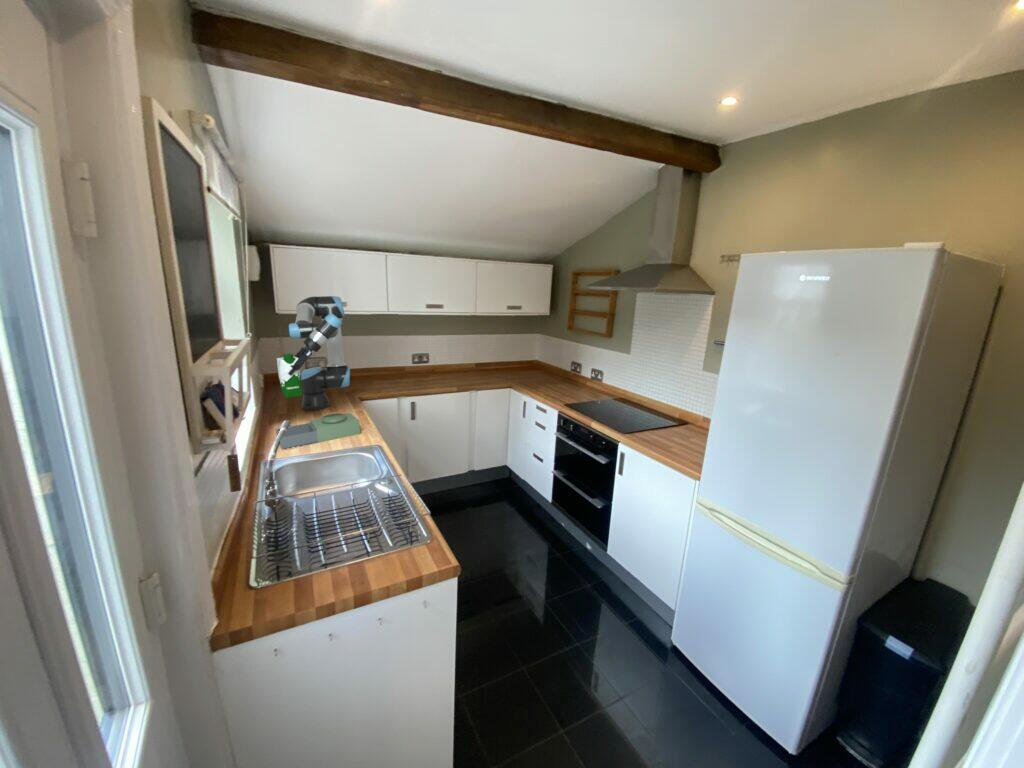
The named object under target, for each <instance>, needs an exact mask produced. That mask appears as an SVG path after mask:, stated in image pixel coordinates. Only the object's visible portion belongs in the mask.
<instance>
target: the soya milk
mask: <svg viewBox="0 0 1024 768" xmlns="http://www.w3.org/2000/svg"><path fill="white" fill-rule="evenodd" d="M282 356H283V357H277V358H276V362H277V363H276V365H277V366H276V367H277V373H278V374H279V375H278V380H279V386H280V390H281V393H282V396H283V397H285V398H287V399H289V398H295V397H301V396H303V386H302V380H301V368H300V369H299V370H296V372H295V373H294V374H293V375H292V376H291V377H290V379H289V380H288V381H287V382H286V381H285V380H283V379H282V376H283V375H284V374H285V373H286V372H287V371H288V370H289V369H290V368H291V365H294V364H295V362H296V361H297V360H298V358H297V357H294V354H293V353H284V354H283V355H282Z"/></svg>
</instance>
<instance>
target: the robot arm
mask: <svg viewBox="0 0 1024 768" xmlns="http://www.w3.org/2000/svg"><path fill="white" fill-rule="evenodd" d="M295 314H296V316H295V321H294V322H291V323H289V324H288V333H289V337H290V338H291V339H304V340H303V345H305V346H304V347H301V348H300V349H299V351H298V352H296V353H295V355H293V357H297V358H298V360H297V361H296V362H295V364H294V365H291V368H290V369H289V370H288V371H287V372H286V373H285V374H284V375H283V376H282V379H283V380H285V381H286V382H287V381H288V380H289V379H290V377H291V376H292V375H293V374H294V373H295V372H296V370H299V369H300V370H301V368H302V367H303V366H304V364H305V363H306V362H307V360H308V359H309V358H310V357H311V356H312V355H313V351H314V352H315V353H318V352H319V350H321V349H322V346H324V345H325V344H326V348H327V359H328V364H326V368H323V367H322V366H316V367H315V366H314V367H310V368H306V369H304V370H302V371H300V374H301V381H302V400H301V409H302V410H304V411H316V410H322V409H326V408H328V407H330V406H331V405H330V404H331V403H330V400H329V398H328V396H327V394H326V390H327V389H328V390H329V389H341V388H346V387H347V388H348V387H349V386H350V382H351V381H350V379H351V378H350V377H351V367H349V366H348V364H347V363H346V362H345V356H344V346H343V337H342V336H343V335H342V325H343V319H344V318H343V317H345V316H346V315H345V310H344V305H343V302H342V298H341V297H340V296H337V295H336V296H334V295H328V296H327V295H325V296H322V295H321V296H308V297H307V298H306V297H305V298H304V299H302V300H301V301H299V302H298V303H297V305H296V308H295ZM313 318H321V322H313ZM278 376H279V374H278Z"/></svg>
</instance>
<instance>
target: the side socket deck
mask: <svg viewBox="0 0 1024 768" xmlns="http://www.w3.org/2000/svg"><path fill="white" fill-rule="evenodd" d="M287 427H288V429H287V431H286V432H285V434H284V437H282V438H281V440H280V444H279V446H280V448H281V450H282V449H285V450H288V449H287V448H290V449H293V448H292V447H295V448H298V447H297V446H300V447H304V446H303V445H305V446H309V445H315V444H318V443H323V442H327V441H328V442H329V441H332V440H337V439H342V438H347V437H350V436H351V437H352V436H357V435H361V428H360V420H359V419H358V417H356V416H355V415H354V414H352V413H351V412H348V413H331V414H330V413H329V414H327V415H324V416H322V417H320V418H313V419H309V422H307V423H302V424H296V425H291V426H287ZM281 428H282V427H279V428H276V429H275V432H276V436H277V435H278V433H279V431H280V429H281Z"/></svg>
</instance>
